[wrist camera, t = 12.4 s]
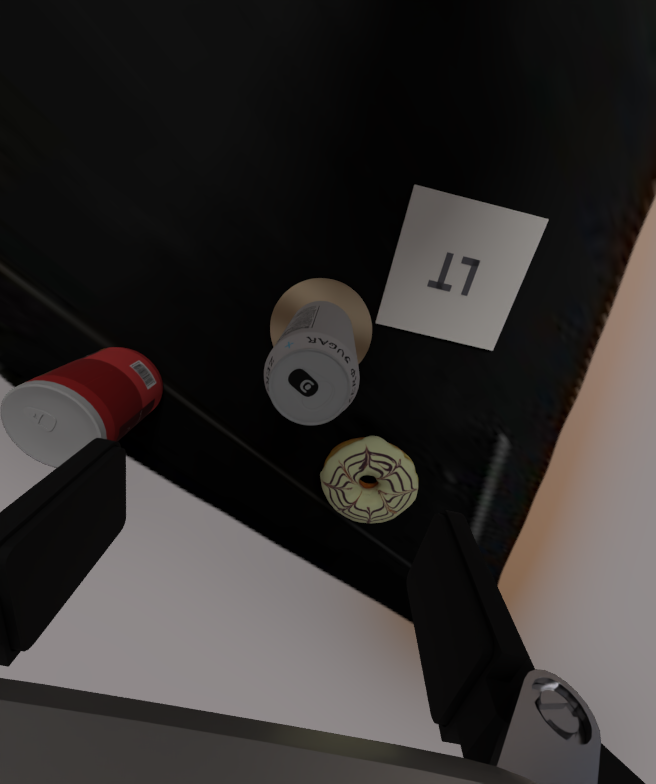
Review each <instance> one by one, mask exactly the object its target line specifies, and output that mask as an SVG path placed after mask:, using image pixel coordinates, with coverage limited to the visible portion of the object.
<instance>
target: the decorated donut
mask: <svg viewBox="0 0 656 784" xmlns="http://www.w3.org/2000/svg"><path fill="white" fill-rule="evenodd" d="M364 475H370V476H374V477H375V478H376V480H377V482H374V483H364V482H362V481H361V480H360V479H359V478H360V477H362V476H364ZM320 478H321V485H322V489H323V492H324V494H325V496H326V498H327V500H328V501H329V503H330V504H331V505H332V506H333V508H334V509H335V510H336V511H337V512H339V513H340V514H342V515H343V516H345V517H347V518H349V519H351V520H352V521H356V522H360V523H362V522H363V523H381V522H385V521H387V520H390V519H393V518H395V517H396V516H397V515H399V514H400V513H401V512H403V511H404V510H405V509H407V508H408V507H409V506H410V505H411V504H412V503H413V502H414V500H415V499H416V495H417V490H418V476H417V474H416V471H415V466H414V464H413V461H412V460H411V459H410V458H409V456H407V455H406V454H405V453H404V452H403V451H402V450H401V449H399V448H398V447H396V446H394V445H392V444H390V443H388V442H386V441H385V440H384V439H382V438H380V437H378V436H368V437H363V438H355V439H350V440H348V441H345V442H343V443H341V444H339V445H337V446H336V447H335V448H333V449H332V451H331V452H330V454H329V455H328V457H327V459H326V460H325V463H324V468H323V470H322V471H321V472H320Z"/></svg>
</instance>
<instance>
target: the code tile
mask: <svg viewBox="0 0 656 784" xmlns="http://www.w3.org/2000/svg"><path fill="white" fill-rule="evenodd" d="M548 220H549V219H546V218H542V217H538V216H534V215H530V214H526V213H522V212H519V211H515V210H511V209H507V208H503V207H499V206H496V205H492V204H488V203H484V202H480V201H476V200H472V199H469V198H465V197H461V196H457V195H453V194H449V193H446V192H442V191H438V190H434V189H430V188H426V187H422V186H419V185H414V187H413V190H412V194H411V197H410V201H409V205H408V208H407V212H406V215H405V219H404V222H403V226H402V229H401V233H400V237H399V240H398V244H397V247H396V251H395V254H394V258H393V261H392V265H391V269H390V272H389V276H388V279H387V283H386V286H385V290H384V293H383V297H382V301H381V304H380V308H379V311H378V315H377V318H376V322H375V323H377V324H381V325H385V326H390V327H394V328H398V329H402V330H407V331H411V332H415V333H419V334H424V335H428V336H432V337H436V338H440V339H445V340H449V341H453V342H457V343H462V344H466V345H470V346H474V347H478V348H483V349H487V350H491V351H493V349H494V347H495V344H496V342H497V340H498V337H499V335H500V332H501V330H502V328H503V325H504V323H505V321H506V318H507V316H508V314H509V311H510V309H511V307H512V304H513V302H514V300H515V297H516V295H517V293H518V290H519V288H520V286H521V283H522V281H523V279H524V276H525V274H526V272H527V269H528V267H529V265H530V262H531V260H532V258H533V255H534V253H535V251H536V248H537V246H538V244H539V241H540V239H541V237H542V234H543V232H544V230H545V227H546V225H547V223H548Z"/></svg>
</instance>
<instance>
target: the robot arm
mask: <svg viewBox="0 0 656 784" xmlns="http://www.w3.org/2000/svg"><path fill="white" fill-rule="evenodd" d="M125 520H126V452H125V449H124V448H121V445H120V443H119V442H117V441H112V440H107V439H103V438H95V439H93V440H92V441H91V442H90V443H88V444H87V445H86V446H84V447H83V448H82V449H81V450H79V451H78V452H77V453H76V454H74V455H73V456H72V457H70V458H69V459H68V460H67V461H65V462H64V463H63V464H61V465H60V466H59V467H58V468H56V469H55V470H54V471H53V472H51V473H50V474H49V475H48V476H46V477H45V478H44V479H42V480H41V481H40V482H38V483H37V484H36V485H35V486H33V487H32V488H31V489H29V490H28V491H27V492H26V493H24V494H23V495H22V496H20V497H19V498H18V499H17V500H15V501H14V502H13V503H12V504H10V505H9V506H8V507H6V508H5V509H4V510H3V511H2V512H0V665H3V666H9V665H10V664H11V663H12V661H13V660H14V659H15V658H16V656H17V655H18V654H19V653H20V651H26V650H28V649H29V648H30V647H31V646H32V645H33V644H34V643H35V642H36V640H37V639H38V638H39V637H40V635H41V634H42V632H43V631H44V630H45V629H46V627H47V626H48V625H49V624H50V622H51V621H52V620H53V618H54V617H55V616H56V614H57V613H58V612H59V611H60V609H61V608H62V607H63V605H64V604H65V603H66V601H67V600H68V599H69V598H70V596H71V595H72V594H73V592H74V591H75V590H76V588H77V587H78V586H79V585H80V583H81V582H82V581H83V579H84V578H85V577H86V576H87V574H88V573H89V572H90V570H91V569H92V568H93V566H94V565H95V564H96V562H97V561H98V560H99V559H100V557H101V556H102V555H103V554H104V552H105V551H106V550H107V548H108V547H109V546H110V544H111V543H112V542H113V541H114V539H115V538H116V537H117V535H118V534H119V533H120V532H121V530H122V528H123V526H124V524H125ZM407 590H408V596H409V601H410V606H411V612H412V617H413V622H414V628H415V633H416V638H417V643H418V649H419V654H420V659H421V665H422V670H423V675H424V681H425V686H426V690H427V696H428V702H429V707H430V712H431V716H432V719H433V721H434V723H436V724H439V729H440V734H441V739H442V741H443V742H449V743H455V744H460V745H461V749H462V753H463V757H464V758H461V757H456V756H451V755H446V754H441V753H436V752H431V751H426V750H421V749H416V748H411V747H406V746H401V745H396V744H390V743H384V742H379V741H373V740H367V739H362V738H356V737H350V736H345V735H339V734H334V733H328V732H322V731H317V730H311V729H305V728H299V727H294V726H288V725H283V724H277V723H271V722H265V721H259V720H253V719H248V718H242V717H236V716H230V715H224V714H219V713H213V712H206V711H201V710H195V709H189V708H183V707H177V706H172V705H166V704H160V703H153V702H147V701H142V700H136V699H130V698H123V697H117V696H111V695H105V694H99V693H93V692H87V691H81V690H74V689H69V688H63V687H57V686H50V685H45V684H37V683H31V682H24V681H17V680H10V679H3V678H0V784H645V783H644V782H643V781H642V780H641V779H640V778H638V776H636V775H635V774H634V773H633V772H632V771H631V770H630V769H629V768H628V767H627V766H625V765H624V764H623V763H622V762H621V761H620V760H619V759H618V758H617V757H616V756H614V755H613V754H612V753H611V752H610V751H609V750H608V749H607V748H605V746H604V745H603V744H601V737H600V730H599V727H598V725H597V722H596V719H595V717H594V715H593V714H592V712H591V710H590V709H589V707H588V705H587V704H586V703H585V701H584V700H583V699H582V698H581V696H580V695H579V694H578V693H577V692H576V691H575V690H574V689H573V688H572V687H571V686H570V685H569V684H568V683H567V682H566V681H564V680H562V679H561V678H559V677H558V676H557V675H555V674H553V673H550V672H548V671H545V670H537V669H535V668H534V666H533V664H532V662H531V659H530V657H529V655H528V653H527V651H526V648H525V646H524V644H523V642H522V640H521V637H520V635H519V633H518V631H517V629H516V626H515V624H514V622H513V620H512V618H511V615H510V613H509V611H508V609H507V607H506V604H505V602H504V600H503V598H502V595H501V593H500V591H499V589H498V587H497V584H496V582H495V580H494V578H493V576H492V573H491V572H490V570H489V568H488V567H487V565H486V563H485V561H484V559H483V556H482V554H481V552H480V550H479V547H478V545H477V543H476V541H475V539H474V536H473V534H472V532H471V530H470V527H469V525H468V523H467V521H466V519H465V517H464V515H463V514H461V513H457V512H452V511H447V510H442V511H441V512H440V514H435V515H434V517H433V519H432V521H431V523H430V526H429V528H428V530H427V532H426V535H425V537H424V539H423V541H422V544H421V546H420V548H419V550H418V552H417V555H416V557H415V559H414V561H413V564H412V566H411V568H410V570H409V573H408V575H407Z"/></svg>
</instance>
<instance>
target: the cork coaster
mask: <svg viewBox="0 0 656 784" xmlns="http://www.w3.org/2000/svg"><path fill="white" fill-rule="evenodd" d="M314 301H327V302H331V303H334V304H335V305H337V306H339V307H340V308H341V309H343V310H344V311H345V313H346V314H347V315H348V317H349V319H350V321H351V324H352V328H353V334H354V341H355V347H356V354H357V360H358V364H359V363H360V362H361V361H362V359H363V358H364V356H365V355H366V353H367V351H368V349H369V346H370V343H371V338H372V322H371V317H370V314H369V311H368V309H367V307H366V305H365V303H364V301H363V300H362V298H361V297H360V296H359V295H358V294H357V293H356V292H355V291H354V290H353V289H352V288H350V287H349V286H347V285H346V284H344V283H342V282H339V281H336V280H333V279H328V278H314V279H309V280H305V281H302V282H300V283H298V284H296V285H294V286H293V287H291V288H290V289H289V290H288V291H286V292H285V293H284V294H283V295H282V297H281V298H280V299H279V301H278V302H277V304H276V306H275V308H274V310H273V313H272V317H271V322H270V334H271V340H272V343H273V347H274V346H275V344H276V343H277V341H278V340H279V338H280V337H281V335H282V334H283V332H284V330H285V329H286V327H287V326H288V324H289V323H290V321H291V320H292V318H293V317H294V315H295V314H296V312H297V311H298V310H299V309H300V308H301V307H303V306H304V305H306V304H308V303H311V302H314Z"/></svg>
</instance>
